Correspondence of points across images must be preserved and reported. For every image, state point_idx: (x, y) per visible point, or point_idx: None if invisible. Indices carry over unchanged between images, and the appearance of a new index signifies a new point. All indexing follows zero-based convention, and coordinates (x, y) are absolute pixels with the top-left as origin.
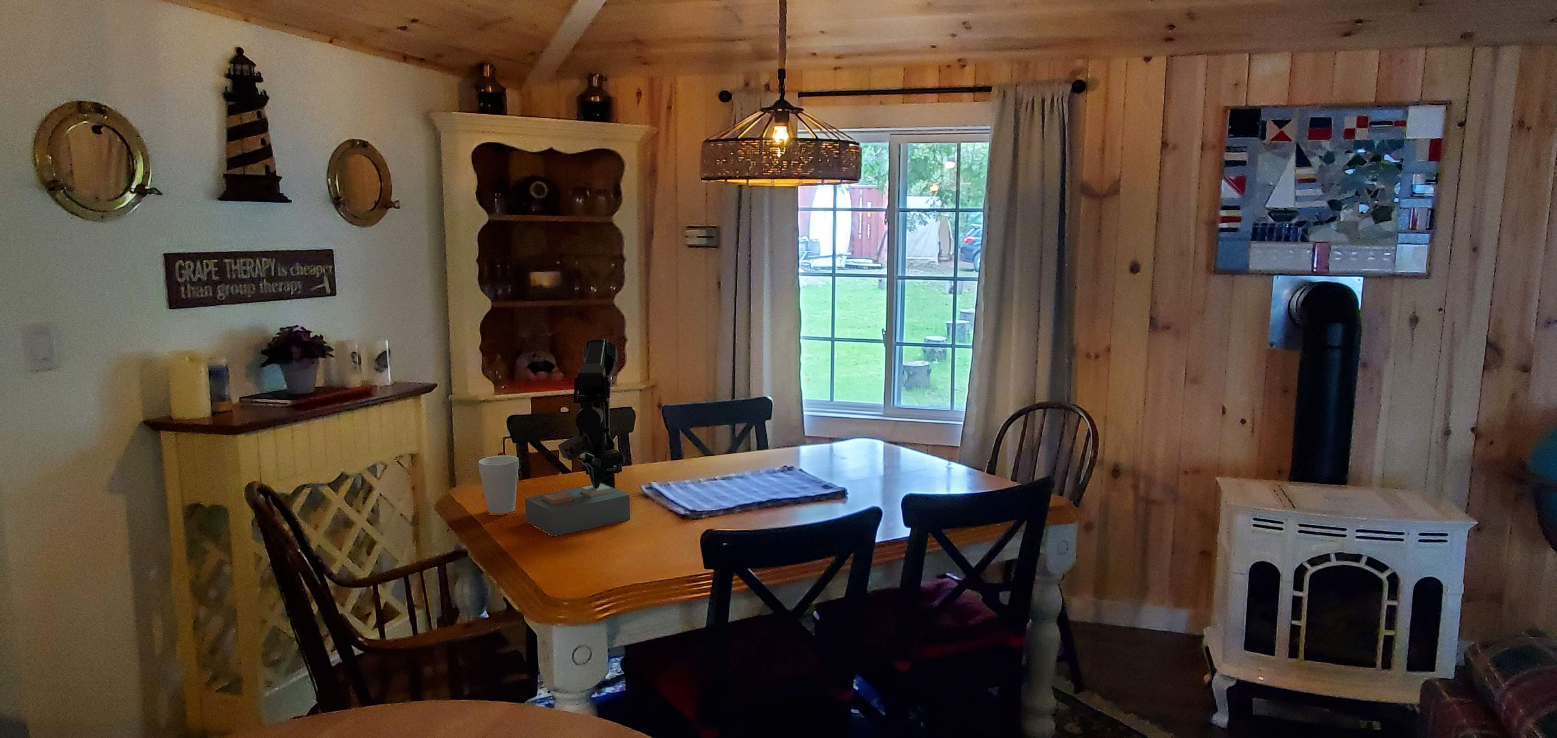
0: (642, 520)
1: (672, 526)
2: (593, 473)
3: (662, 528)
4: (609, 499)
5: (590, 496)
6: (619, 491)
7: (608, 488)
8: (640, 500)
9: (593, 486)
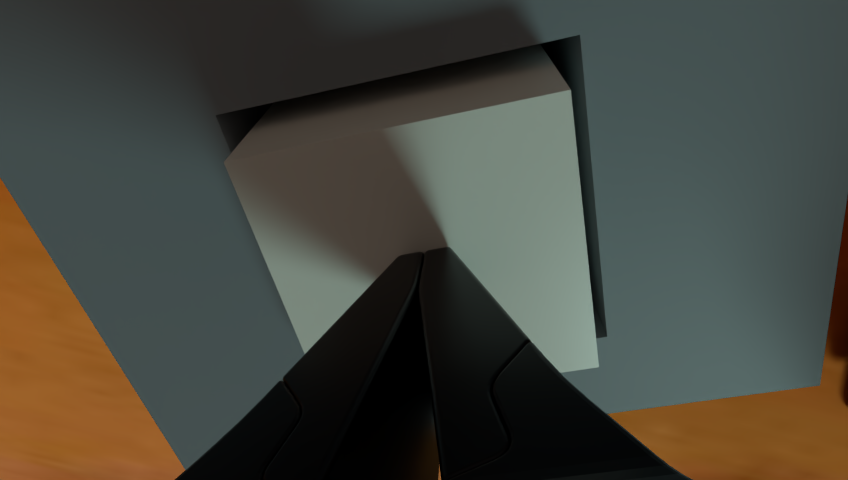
0: None
1: (33, 454)
2: (250, 422)
3: (2, 407)
4: (70, 283)
5: (288, 121)
6: None
7: None
8: None
9: (433, 252)
